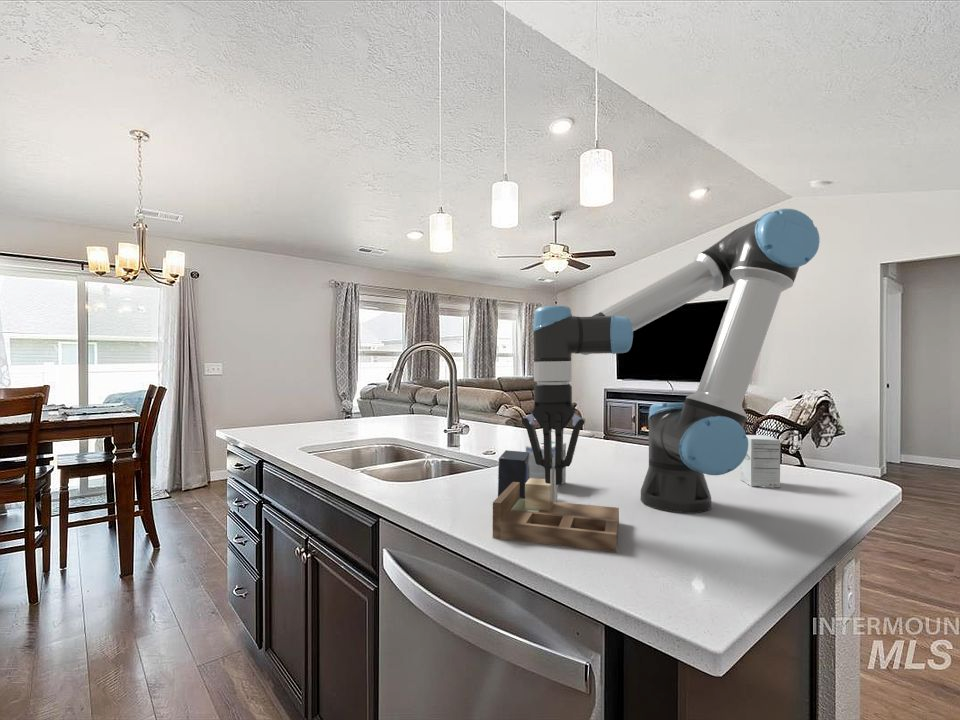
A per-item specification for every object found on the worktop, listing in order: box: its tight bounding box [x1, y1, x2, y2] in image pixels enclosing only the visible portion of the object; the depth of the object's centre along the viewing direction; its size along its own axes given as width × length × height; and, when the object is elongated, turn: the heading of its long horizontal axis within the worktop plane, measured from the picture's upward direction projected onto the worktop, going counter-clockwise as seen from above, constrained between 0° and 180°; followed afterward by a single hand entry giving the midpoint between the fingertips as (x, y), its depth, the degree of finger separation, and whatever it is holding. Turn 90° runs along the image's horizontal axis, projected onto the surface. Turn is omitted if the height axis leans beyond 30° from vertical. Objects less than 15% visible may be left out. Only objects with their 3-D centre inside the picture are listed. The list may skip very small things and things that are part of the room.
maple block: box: [525, 478, 554, 511], centre depth 100 cm, size 5×5×5 cm
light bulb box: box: [525, 440, 567, 487], centre depth 129 cm, size 11×7×11 cm, turn 144°
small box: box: [497, 450, 530, 499], centre depth 116 cm, size 11×6×10 cm, turn 168°
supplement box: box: [739, 434, 781, 488], centre depth 131 cm, size 7×7×13 cm
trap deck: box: [492, 482, 620, 553], centre depth 95 cm, size 22×16×6 cm
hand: (554, 500), depth 99 cm, fingers closed
